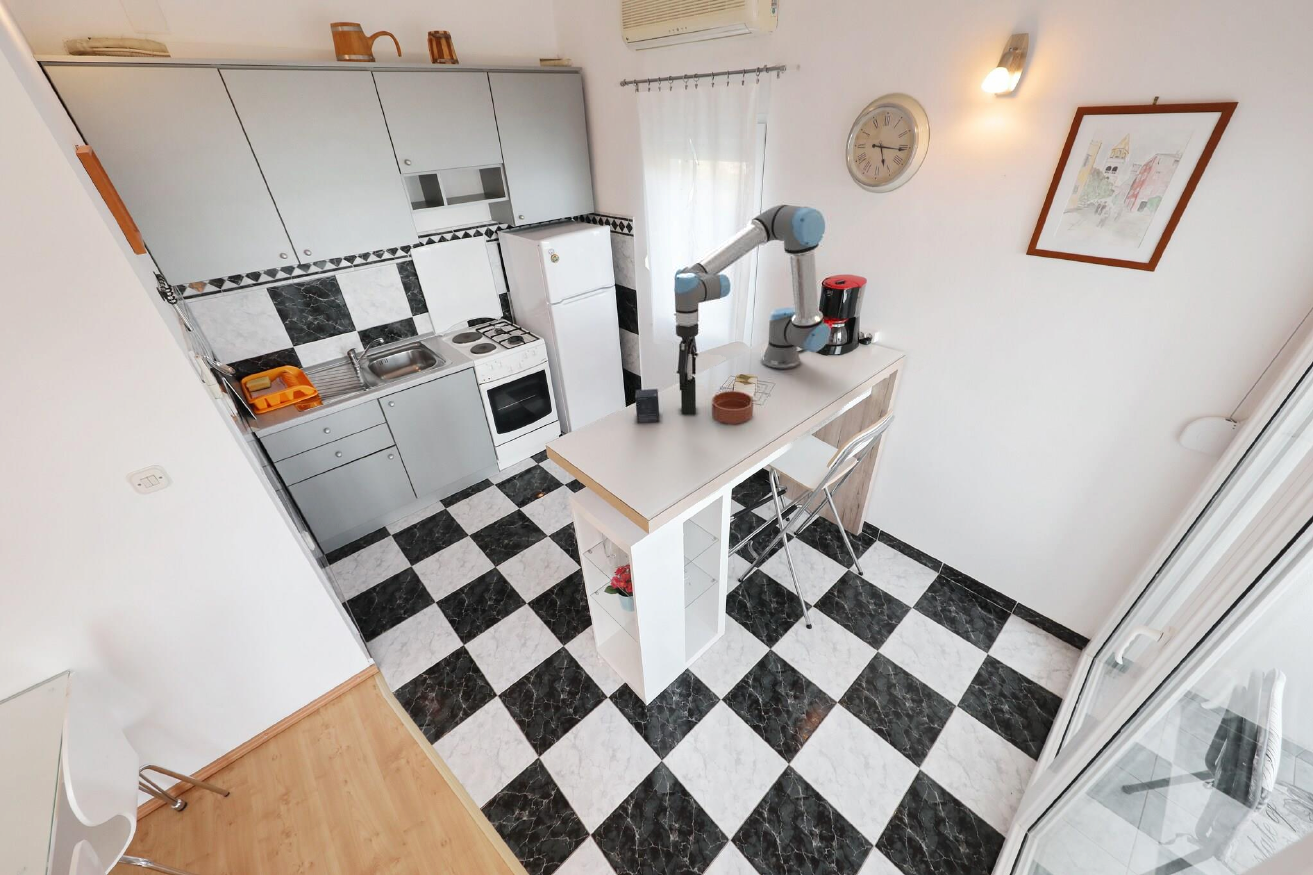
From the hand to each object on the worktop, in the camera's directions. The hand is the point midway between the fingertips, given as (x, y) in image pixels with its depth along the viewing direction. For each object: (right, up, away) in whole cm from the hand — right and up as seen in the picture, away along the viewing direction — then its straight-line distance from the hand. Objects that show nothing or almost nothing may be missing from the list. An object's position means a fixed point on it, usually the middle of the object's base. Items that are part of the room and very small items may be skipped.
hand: (687, 381), depth 176 cm
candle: (+1, -10, +6) cm, 12 cm away
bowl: (+16, -12, +2) cm, 20 cm away
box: (-14, -13, +3) cm, 19 cm away
